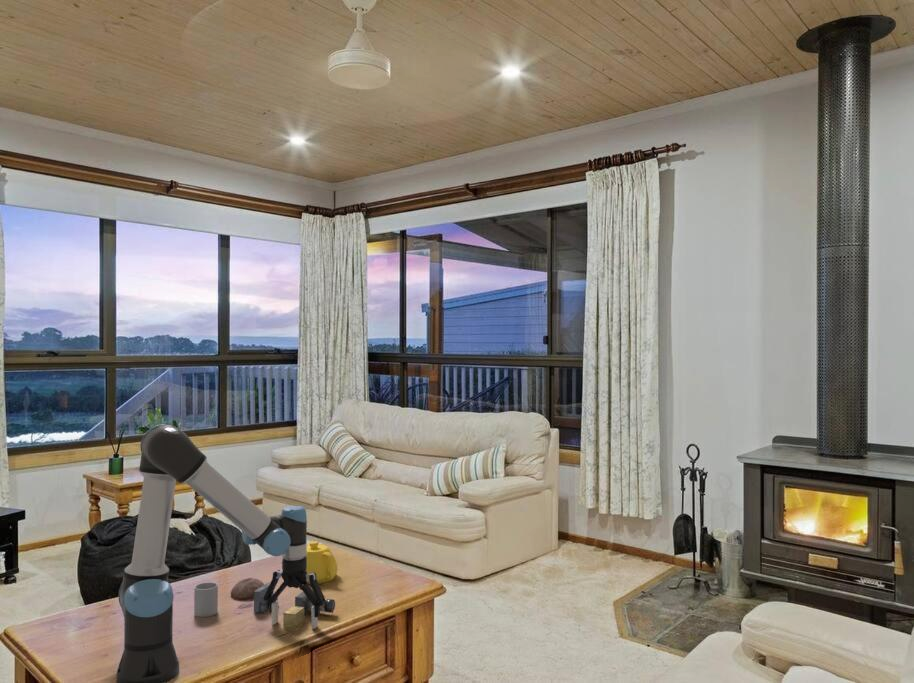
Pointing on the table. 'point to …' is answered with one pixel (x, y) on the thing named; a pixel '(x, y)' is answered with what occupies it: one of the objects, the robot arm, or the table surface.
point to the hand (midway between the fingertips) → (294, 625)
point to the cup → (205, 599)
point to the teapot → (320, 562)
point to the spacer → (293, 618)
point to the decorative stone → (246, 589)
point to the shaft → (326, 607)
